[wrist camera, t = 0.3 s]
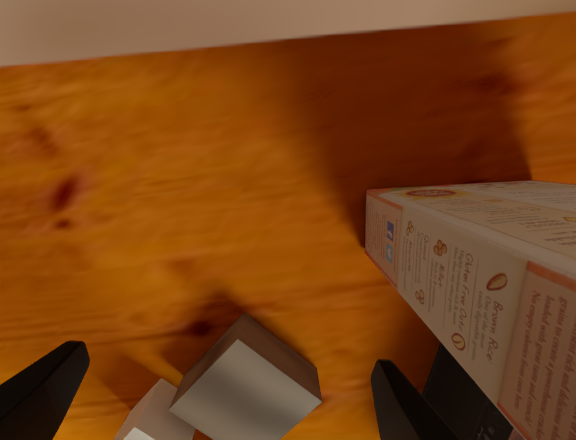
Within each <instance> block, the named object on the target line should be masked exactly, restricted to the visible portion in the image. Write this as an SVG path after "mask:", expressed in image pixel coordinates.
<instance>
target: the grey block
mask: <svg viewBox="0 0 576 440" xmlns="http://www.w3.org/2000/svg"><path fill="white" fill-rule="evenodd" d="M321 402H322V399H321V392H320V386H319V379H318V373H317V368H316V367H314V366H313V365H312V364H311V363H309V362H308V361H307V360H305V359H304V358H303V357H301V356H300V355H299V354H298V353H296V352H295V351H294V350H292V349H291V348H290V347H289V346H287V345H286V344H285V343H283V342H282V341H281V340H279V339H278V338H277V337H276V336H274V335H273V334H272V333H270V332H269V331H268V330H266V329H265V328H264V327H263V326H261V325H260V324H259V323H257V322H256V321H255V320H254V319H252V318H251V317H250V316H248V315H247V314H246V313H243V314H242V315H241V316H240V318H239V319H238V320H237V321H236V322H235V323H234V324H233V325H232V326H231V327H230V328H229V329H228V330H227V331H226V332H225V333H224V334H223V335H222V336H221V337H220V338H219V339H218V340H217V341H216V343H215V344H214V345H213V346H212V347H211V348H210V349H209V350H208V351H207V352H206V353H205V354H204V355H203V356H202V357H201V358H200V359H199V360H198V361H197V362H196V363H195V364H194V365H193V366H192V368H191V369H190V370H189V371H188V372H187V373H186V374H185V375H184V376H183V378H182V380H181V383H180V385H179V387H178V389H177V392H176V394H175V396H174V398H173V401H172V403H171V405H170V407H169V409H168V410H169V411H170V412H172V413H173V414H175V415H176V416H178V417H179V418H181V419H182V420H184V421H185V422H187V423H188V424H190V425H192V426H193V427H195V428H196V429H198V430H199V431H201V432H202V433H204V434H205V435H207V436H208V437H210V438H211V439H213V440H280V439H281V438H282V437H283V436H284V435H285V434H286V433H287V432H289V431H290V430H291V429H292V428H293V427H294V426H295V425H296V424H298V423H299V422H300V421H301V420H302V419H303V418H304V417H305V416H306V415H308V414H309V413H310V412H311V411H312V410H313V409H314V408H315V407H317V406H318V405H319V404H320V403H321Z"/></svg>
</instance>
